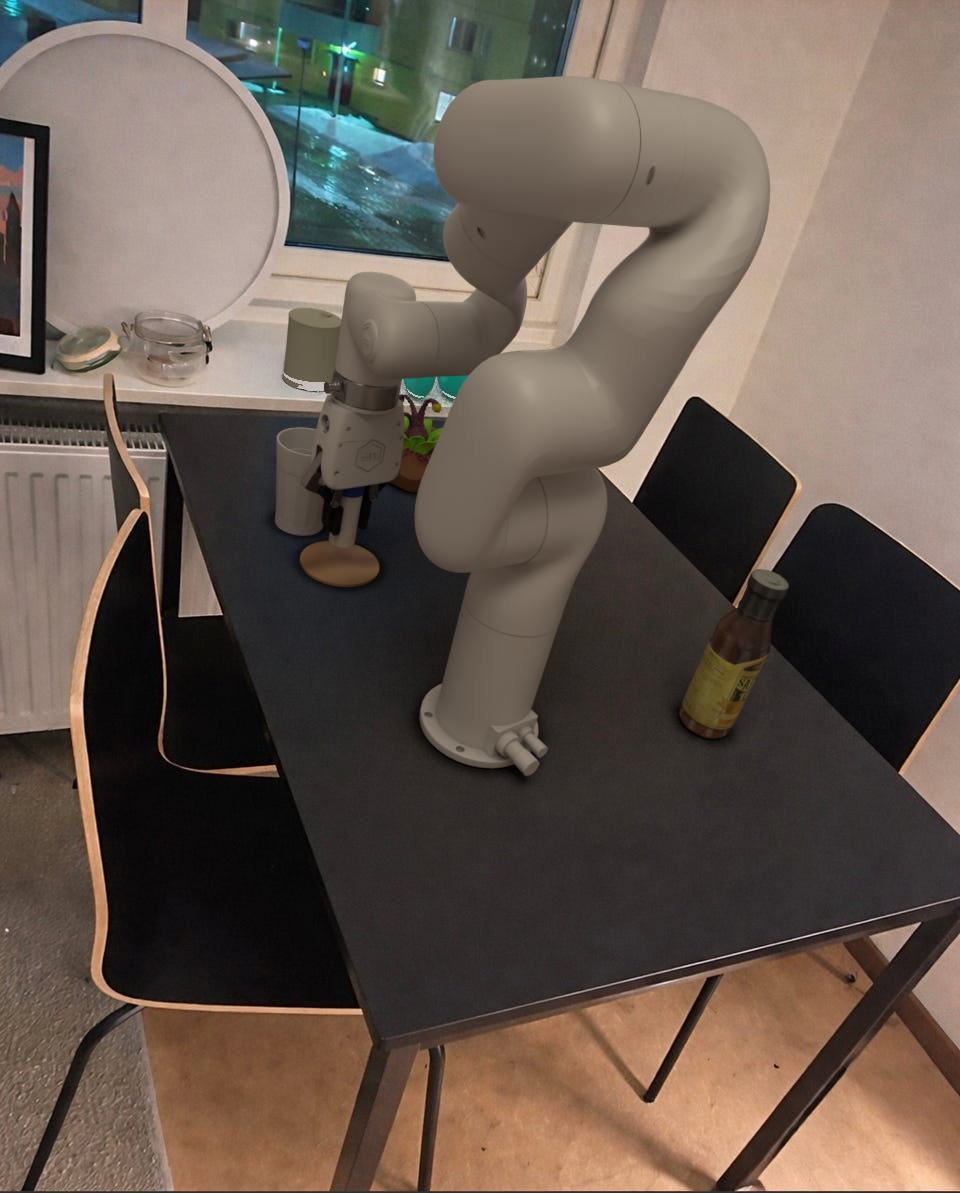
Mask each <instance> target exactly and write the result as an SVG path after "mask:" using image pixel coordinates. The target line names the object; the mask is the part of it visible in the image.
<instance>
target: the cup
mask: <svg viewBox="0 0 960 1193" xmlns="http://www.w3.org/2000/svg"><path fill="white" fill-rule="evenodd" d="M315 432H316V428H312V427H302V426H296V427H289V428H285V429H283V430H281V431H279V432H278V434H277V435H276V466H275V467H276V468H275V470H276V472H275V474H276V475H275V476H276V480H275V515H274V523H275V525H276V527H277V528H278V529H279V530H281V531H283V532H285V533H287V534H291V535H295V536H301V537H302V536H303V537H305V536H312V535H316V534H318V533H319V532H321V531H322V530H323V528H324V525H323V524H322V521H321V518H322V511H323V504H324V499H323V498H322V497H321V496H320V495H319V494H316V493H313V492H311V491H308V490H307V489H305V488H304V487H303V486H302V485H301V479H302V478H303V476H304V475H305V473H306V472H307V470H308V469H309V467H310V465H311V454H312V447H313V442H314V437H315ZM319 481H320V482H322V483H323V479H322V476H321V478H320V479H319Z"/></svg>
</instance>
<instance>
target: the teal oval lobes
mask: <svg viewBox="0 0 960 1193" xmlns="http://www.w3.org/2000/svg"><path fill="white" fill-rule="evenodd" d="M468 376H469V375H466V376H445V377H423V378H411V379H402V381H403V383H404V387H405V386H406V387H405V390H406V392H407V393H408V395H410V396H411V397H412V398H414V399H419V400H421V399H422V398H418V397H415V396H413V395H412V394H410V393H409V392H408V390H409V391H410V392H412V393H413V394H415V395H418V396H426V397H427V396H428V395H430V393H431V392H432V390H433V388H434V385H435V384H436V383H435V382H436V380H437V384H438V387H440V388H439V390H440V389H441V390H442V391H444V392H445V393H447V394H449V395H451V396H454V397H456V396H457V394H458V392H459V389H460V388H461V386H462V384H463V382H464V381H465V380H466V378H467V377H468ZM406 388H407V389H408V390H407V389H406ZM441 390H440V392H441V393H442V395H443V396H445V398H446V399H449V400H453V401H454V400H455V399H453V398H450V397H448V396H447V395H445V394H444V393H443V392H442V391H441Z"/></svg>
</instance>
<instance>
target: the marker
mask: <svg viewBox="0 0 960 1193" xmlns="http://www.w3.org/2000/svg"><path fill="white" fill-rule="evenodd" d="M364 490H365V486H362V487H356V488H349V489H344V492H343V496H342V500H341V503H340V505H341V506H342V507H343V509H344V510H343V517H342V523H341V529H340V534H339V535H337V536H333V535H332V534H331V533H330V532H329V537H328V541H330V543H331V544H333V545H334V546H337V547H341V548H348V547H351V546H353V545H354V544H355V543H356V537H357V531H358V527H357V526H358V520H359V514H360V508H361V502H362V496H363V494H364Z"/></svg>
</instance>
